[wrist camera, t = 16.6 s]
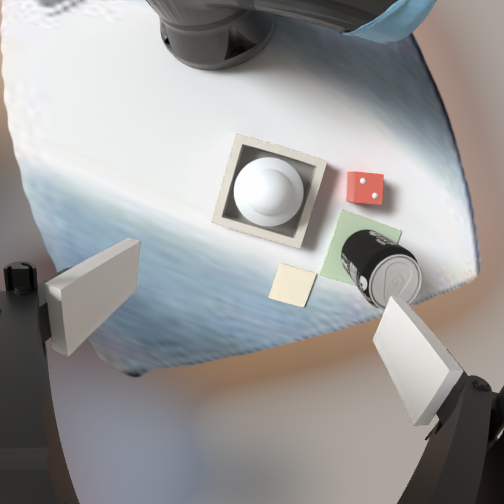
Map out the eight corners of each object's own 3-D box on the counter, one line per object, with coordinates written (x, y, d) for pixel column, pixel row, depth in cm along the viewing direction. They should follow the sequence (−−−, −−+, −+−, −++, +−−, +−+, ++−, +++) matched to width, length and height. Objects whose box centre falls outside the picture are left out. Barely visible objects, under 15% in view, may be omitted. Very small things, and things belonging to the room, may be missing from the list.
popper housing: (238, 136, 35) (236, 133, 33) (323, 161, 35) (327, 160, 33) (215, 219, 38) (211, 222, 35) (298, 244, 38) (299, 248, 36)
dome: (246, 151, 34) (242, 147, 29) (308, 169, 34) (315, 168, 29) (229, 212, 36) (222, 218, 31) (290, 230, 36) (293, 239, 31)
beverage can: (392, 235, 36) (434, 260, 25) (376, 281, 38) (410, 320, 26) (348, 222, 36) (378, 242, 25) (333, 270, 38) (355, 308, 27)
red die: (347, 172, 35) (355, 171, 32) (373, 174, 35) (383, 174, 31) (346, 200, 36) (354, 202, 33) (372, 202, 36) (382, 204, 32)
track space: (279, 262, 39) (279, 263, 38) (315, 273, 39) (316, 274, 38) (268, 297, 40) (268, 297, 40) (303, 306, 40) (303, 307, 40)
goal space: (341, 209, 36) (342, 209, 36) (400, 230, 37) (401, 231, 36) (319, 274, 39) (319, 275, 38) (377, 291, 39) (378, 292, 38)
